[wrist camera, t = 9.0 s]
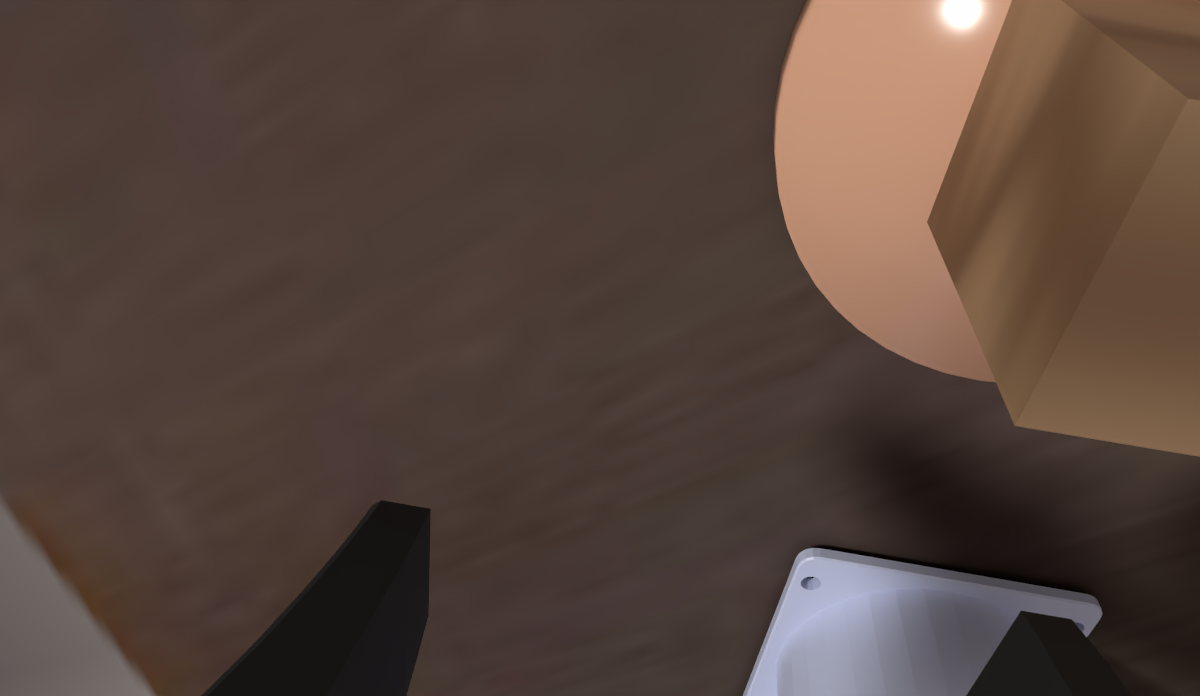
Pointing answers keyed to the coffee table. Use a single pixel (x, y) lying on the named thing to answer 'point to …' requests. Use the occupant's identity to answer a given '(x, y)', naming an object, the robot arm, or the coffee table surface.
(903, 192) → the peach flat disc
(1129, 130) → the block
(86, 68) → the coffee table surface
